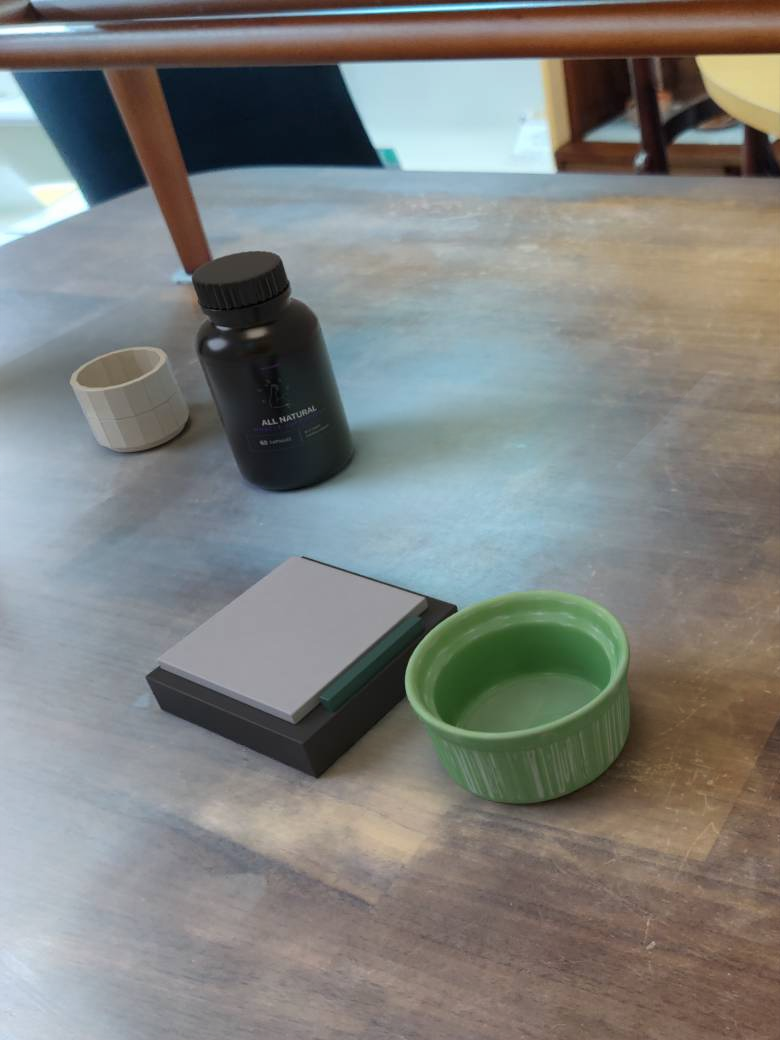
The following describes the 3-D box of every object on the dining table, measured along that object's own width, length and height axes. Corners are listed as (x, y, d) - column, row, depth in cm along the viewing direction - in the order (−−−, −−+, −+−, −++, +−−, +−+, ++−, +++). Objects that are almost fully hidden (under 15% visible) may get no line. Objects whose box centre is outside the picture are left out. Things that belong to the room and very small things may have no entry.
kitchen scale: (160, 709, 55) (138, 665, 53) (314, 587, 61) (298, 544, 59) (316, 778, 50) (297, 732, 48) (466, 638, 56) (454, 593, 54)
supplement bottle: (304, 503, 67) (234, 300, 60) (218, 482, 70) (140, 287, 63) (381, 443, 72) (324, 247, 64) (296, 426, 75) (232, 237, 67)
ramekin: (491, 653, 55) (472, 575, 52) (674, 686, 52) (663, 606, 49) (389, 791, 49) (360, 712, 46) (589, 839, 45) (571, 757, 43)
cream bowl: (80, 445, 76) (50, 381, 73) (152, 403, 80) (126, 341, 77) (139, 463, 74) (110, 397, 71) (210, 418, 77) (185, 354, 74)
